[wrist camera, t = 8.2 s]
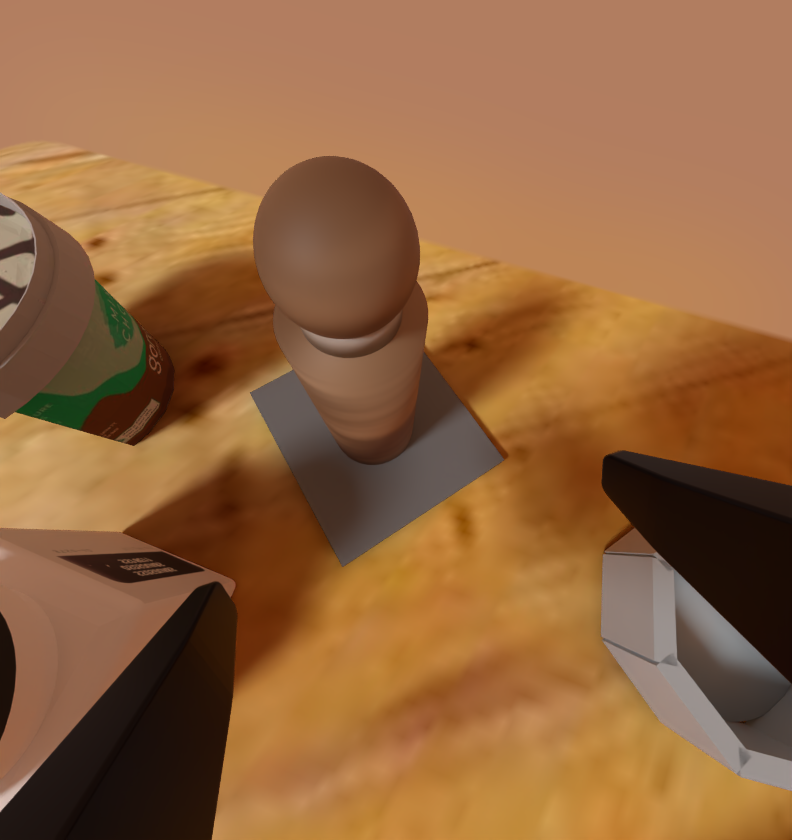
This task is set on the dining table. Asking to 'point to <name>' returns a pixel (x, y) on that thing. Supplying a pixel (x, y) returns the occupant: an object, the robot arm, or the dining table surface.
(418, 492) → the mat
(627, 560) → the bowl
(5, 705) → the container
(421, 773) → the dining table surface
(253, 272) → the dining table surface
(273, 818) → the dining table surface
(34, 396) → the food container
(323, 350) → the pepper mill
